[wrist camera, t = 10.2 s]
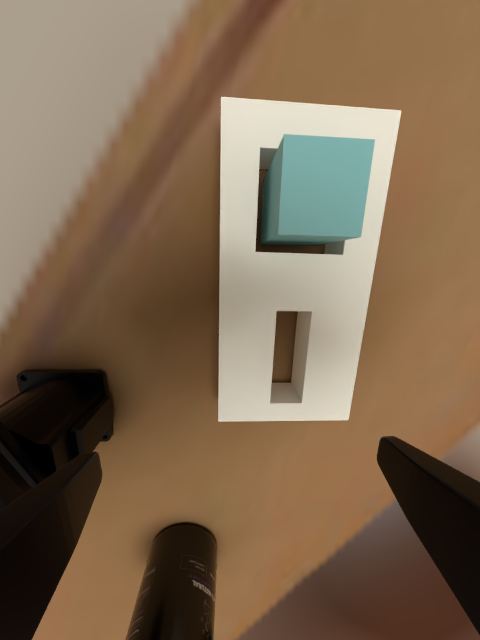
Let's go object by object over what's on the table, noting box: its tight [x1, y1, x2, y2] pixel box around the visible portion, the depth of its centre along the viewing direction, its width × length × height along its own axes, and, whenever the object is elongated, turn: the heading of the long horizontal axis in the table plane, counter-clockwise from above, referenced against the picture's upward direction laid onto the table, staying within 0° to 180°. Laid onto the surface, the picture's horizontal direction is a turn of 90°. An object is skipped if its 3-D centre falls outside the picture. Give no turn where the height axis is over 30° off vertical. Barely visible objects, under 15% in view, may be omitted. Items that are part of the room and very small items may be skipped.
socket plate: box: [218, 97, 401, 422], centre depth 16 cm, size 10×20×3 cm, turn 178°
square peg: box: [260, 134, 375, 246], centre depth 14 cm, size 4×4×6 cm
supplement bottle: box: [126, 524, 217, 640], centre depth 18 cm, size 7×7×12 cm
